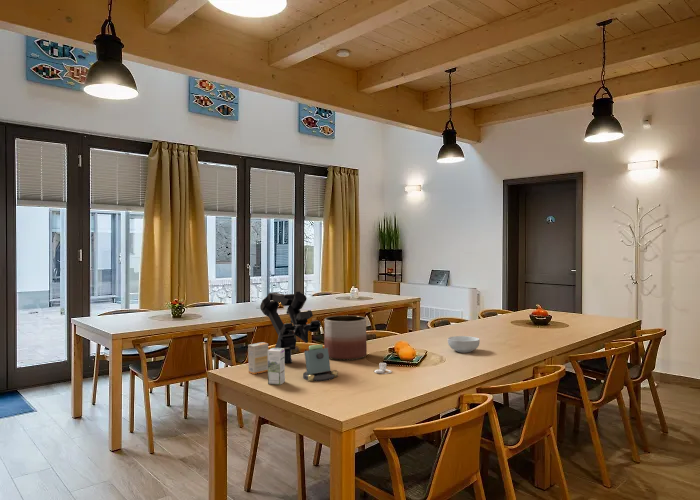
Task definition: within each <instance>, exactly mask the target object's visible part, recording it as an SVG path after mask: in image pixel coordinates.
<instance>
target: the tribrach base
mask: <svg viewBox="0 0 700 500" xmlns="http://www.w3.org/2000/svg"><path fill="white" fill-rule="evenodd" d="M338 372H339V371H338V370H335V369H334V370H331V371H325V372H319V373H313V374H307V370H306V371H304V372H303V374H302V378H303V379H304V380H306V381H308V382H310V383H311V382H325V381H330V380H331V381H332V380H333V379H335V378H338V377H339V376H338Z"/></svg>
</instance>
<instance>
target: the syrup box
mask: <svg viewBox="0 0 700 500" xmlns="http://www.w3.org/2000/svg"><path fill="white" fill-rule="evenodd" d="M285 364H286V363H285V349H284V348H276V347H271V348H270V349H269V348H268V371H267V384H268V385H274V386H276V385H277V386H280V385H282V384H284V383H285V382H286V377H285V374H286V373H285V369H286V368H285V367H286V365H285Z"/></svg>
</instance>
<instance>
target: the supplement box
mask: <svg viewBox="0 0 700 500" xmlns="http://www.w3.org/2000/svg"><path fill="white" fill-rule="evenodd" d="M247 347H248V348H247V352H248V353H247V354H248V355H247V357H248V373H249V374H251V373H252V375H258V374H261V373H266V372H267V373H268V350H269V343H267V342H264V341H263V342H262V341H261V342H257V343H251V344H247ZM257 373H258V374H257Z"/></svg>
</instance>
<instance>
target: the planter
mask: <svg viewBox="0 0 700 500" xmlns="http://www.w3.org/2000/svg"><path fill="white" fill-rule="evenodd" d="M367 343H368V341H367V318H366V317H365V316H361V315H348V314H346V315H340V314H339V315H331V316H330V315H329V316H327V317H325V318H324V346H323V347H324V348H328V354H329V360H330V359H331V360H335V361H354V360H360V359H362V358H364V357H365V356H366V355H367V353H368V351H367V349H368V348H367V347H368V346H367Z"/></svg>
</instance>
